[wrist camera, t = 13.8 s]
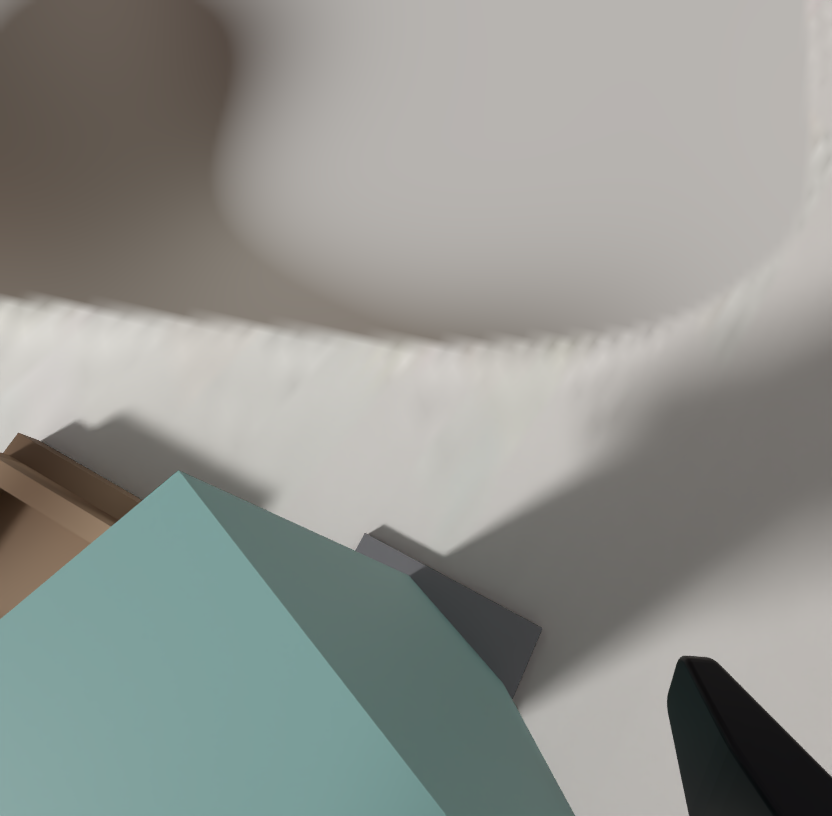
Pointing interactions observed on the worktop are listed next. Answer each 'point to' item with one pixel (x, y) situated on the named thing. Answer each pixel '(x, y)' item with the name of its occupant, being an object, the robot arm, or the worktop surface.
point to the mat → (468, 614)
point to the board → (48, 514)
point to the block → (249, 681)
